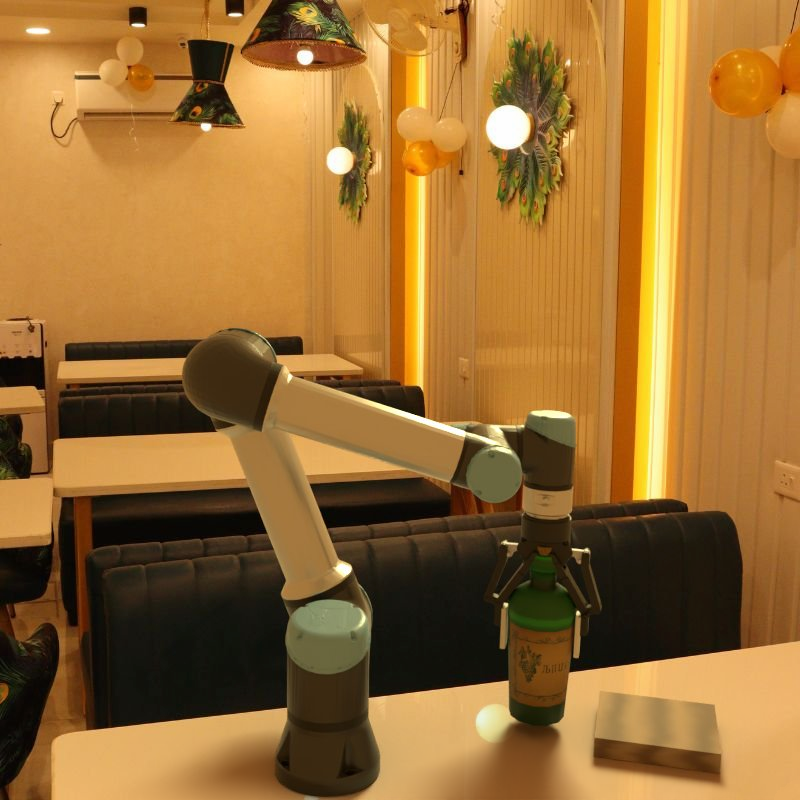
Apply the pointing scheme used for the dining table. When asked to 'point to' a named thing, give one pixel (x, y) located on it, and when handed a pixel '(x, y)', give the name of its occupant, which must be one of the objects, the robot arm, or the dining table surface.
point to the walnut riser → (657, 732)
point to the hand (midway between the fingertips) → (539, 649)
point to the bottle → (539, 644)
